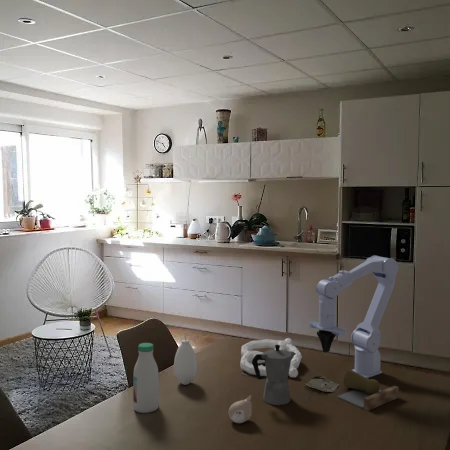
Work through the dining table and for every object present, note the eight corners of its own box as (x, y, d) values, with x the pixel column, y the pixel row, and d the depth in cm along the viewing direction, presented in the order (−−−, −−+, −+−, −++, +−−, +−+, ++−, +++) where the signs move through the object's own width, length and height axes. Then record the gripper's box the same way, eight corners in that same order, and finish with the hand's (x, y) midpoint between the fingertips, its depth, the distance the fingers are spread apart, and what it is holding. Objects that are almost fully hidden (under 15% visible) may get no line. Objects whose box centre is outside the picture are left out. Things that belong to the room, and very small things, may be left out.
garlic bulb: (243, 429, 135) (244, 401, 135) (224, 423, 139) (224, 396, 138) (255, 419, 141) (255, 393, 140) (236, 414, 144) (236, 388, 144)
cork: (355, 383, 167) (383, 393, 158) (344, 390, 163) (372, 401, 155) (354, 367, 166) (381, 376, 157) (343, 373, 162) (371, 384, 154)
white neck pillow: (305, 383, 172) (305, 366, 171) (240, 383, 173) (239, 367, 172) (298, 348, 199) (298, 333, 198) (241, 348, 201) (241, 334, 200)
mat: (367, 385, 166) (367, 384, 166) (392, 395, 158) (392, 394, 158) (337, 397, 157) (337, 396, 157) (362, 408, 149) (362, 407, 149)
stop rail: (393, 396, 158) (394, 385, 158) (398, 397, 157) (398, 387, 156) (363, 408, 148) (363, 397, 148) (368, 410, 147) (368, 399, 147)
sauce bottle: (170, 386, 165) (170, 334, 164) (180, 378, 172) (180, 328, 171) (190, 389, 162) (190, 337, 161) (200, 381, 169) (200, 331, 168)
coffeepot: (288, 390, 162) (288, 338, 160) (302, 402, 153) (302, 347, 152) (246, 397, 156) (246, 343, 155) (257, 409, 147) (258, 352, 146)
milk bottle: (162, 404, 150) (162, 342, 149) (151, 415, 143) (151, 349, 142) (141, 401, 153) (140, 339, 152) (128, 411, 146) (128, 347, 144)
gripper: (304, 311, 173) (303, 348, 174) (335, 320, 162) (334, 359, 163) (317, 308, 177) (316, 344, 178) (349, 316, 166) (348, 355, 167)
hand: (326, 351), depth 171 cm, fingers closed
